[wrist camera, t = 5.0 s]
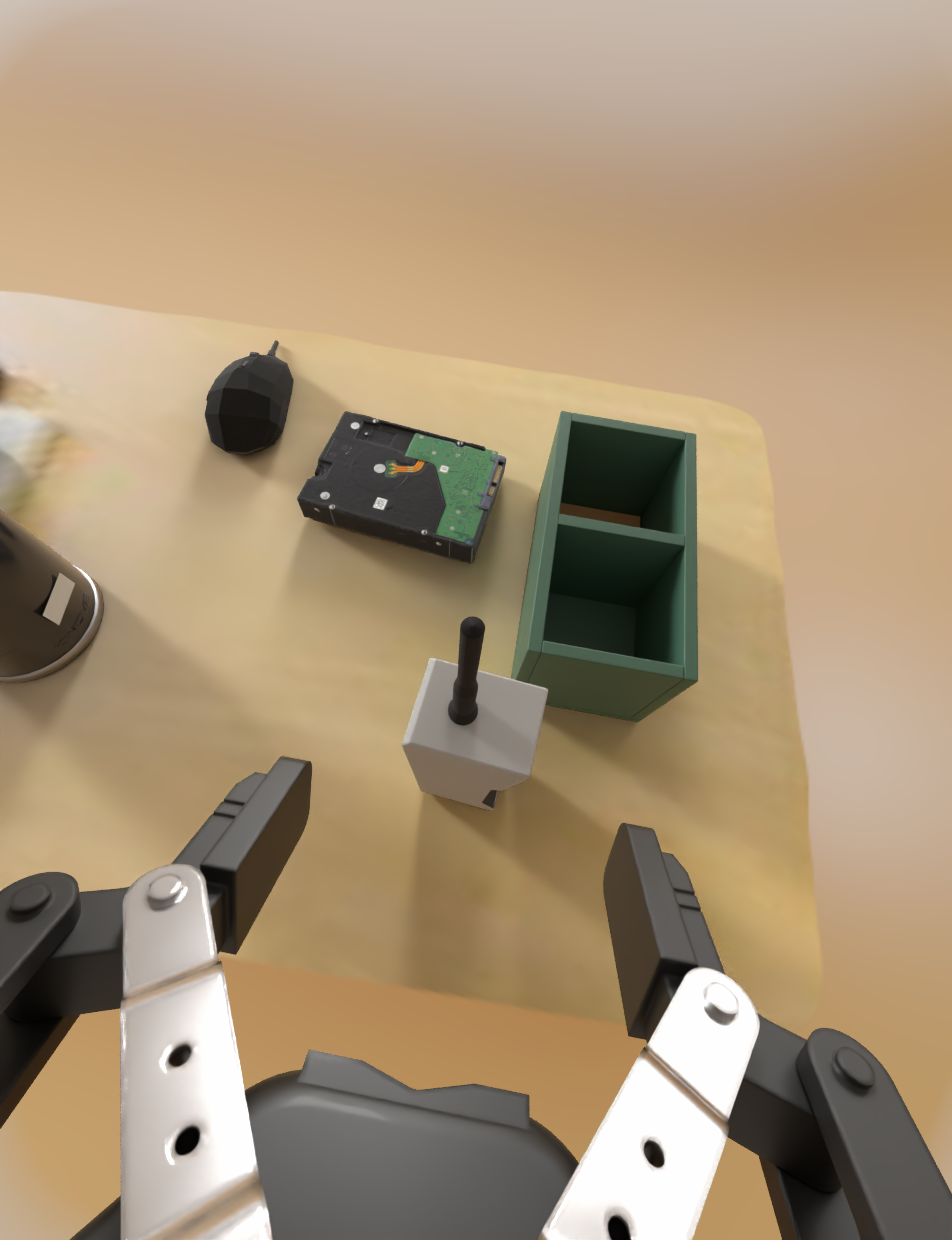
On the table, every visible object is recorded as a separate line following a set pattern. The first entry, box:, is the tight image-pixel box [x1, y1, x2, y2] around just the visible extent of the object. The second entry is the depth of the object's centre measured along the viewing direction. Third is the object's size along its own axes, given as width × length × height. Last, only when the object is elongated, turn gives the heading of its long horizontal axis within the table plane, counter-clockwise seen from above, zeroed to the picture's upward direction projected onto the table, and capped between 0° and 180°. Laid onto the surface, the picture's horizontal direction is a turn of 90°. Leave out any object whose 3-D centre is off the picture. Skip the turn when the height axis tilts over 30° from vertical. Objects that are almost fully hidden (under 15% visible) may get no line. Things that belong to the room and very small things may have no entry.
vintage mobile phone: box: [402, 617, 548, 811], centre depth 24 cm, size 4×5×25 cm
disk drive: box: [297, 411, 506, 563], centre depth 43 cm, size 10×3×15 cm
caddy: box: [511, 411, 698, 722], centre depth 37 cm, size 10×18×10 cm, turn 170°
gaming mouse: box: [205, 341, 293, 455], centre depth 46 cm, size 6×15×4 cm, turn 176°
